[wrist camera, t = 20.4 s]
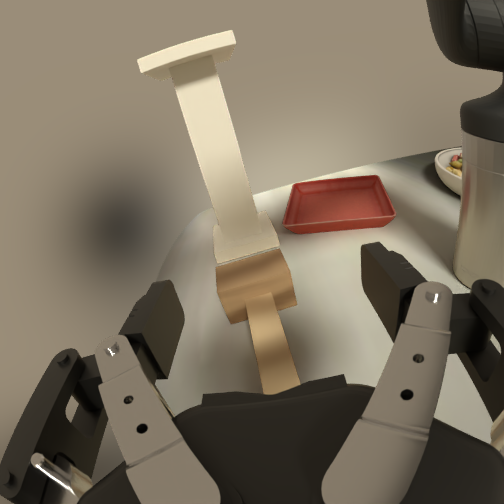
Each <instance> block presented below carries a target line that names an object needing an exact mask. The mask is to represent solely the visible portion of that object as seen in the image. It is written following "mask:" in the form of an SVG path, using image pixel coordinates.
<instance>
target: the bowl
mask: <svg viewBox="0 0 504 504" xmlns="http://www.w3.org/2000/svg"><path fill="white" fill-rule="evenodd" d="M435 167H436V171H437V173H438V175H439V177H440V179H441V180H442V181H443V183H444V184H445V185H446V186H447V187H448V188H450V189H451V190H452V191H453V192H455V193H456V194H458V195H460V196H461V188H462V148H453V149H448V150H444V151H442V152H440V153H438V154H437V155H436V157H435Z"/></svg>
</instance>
